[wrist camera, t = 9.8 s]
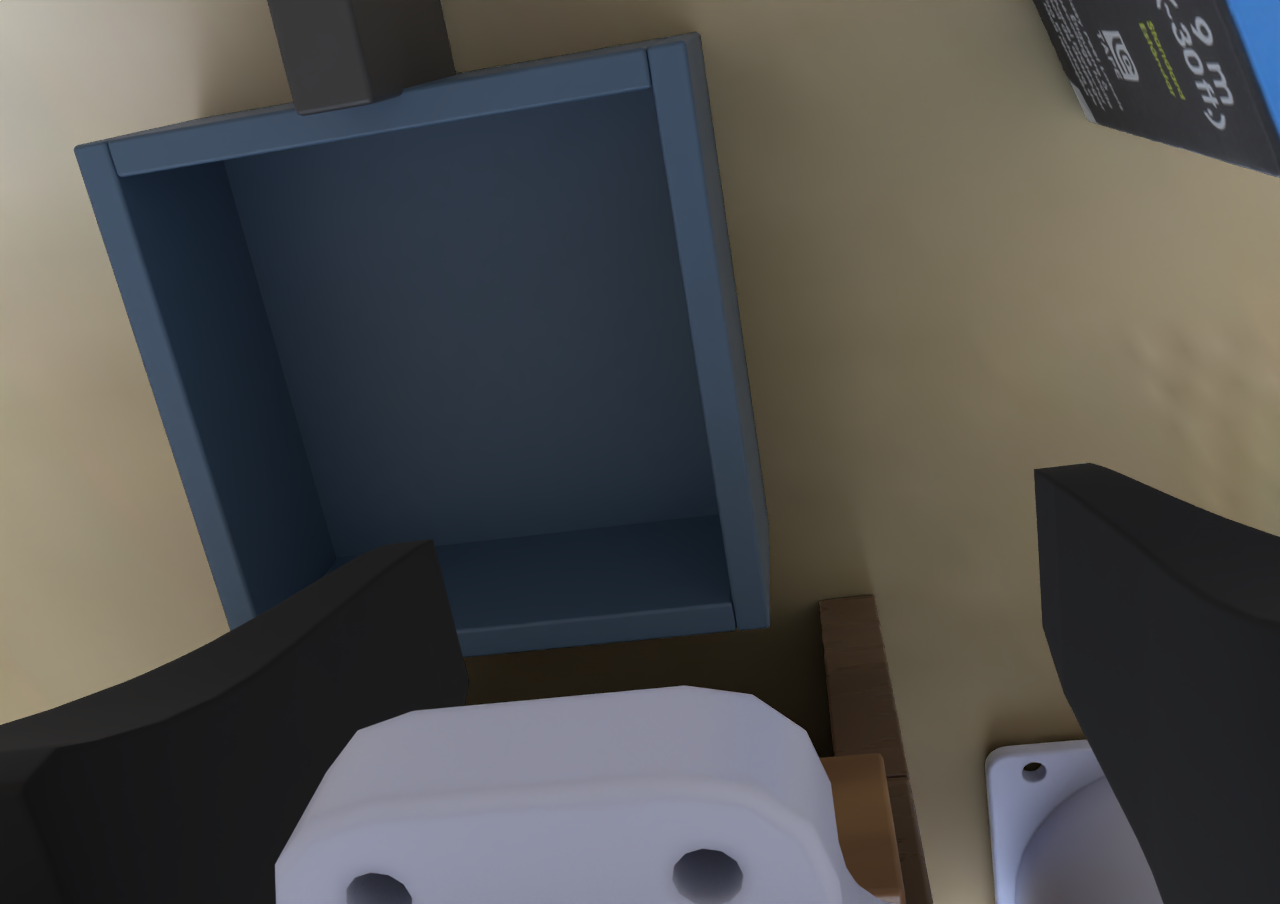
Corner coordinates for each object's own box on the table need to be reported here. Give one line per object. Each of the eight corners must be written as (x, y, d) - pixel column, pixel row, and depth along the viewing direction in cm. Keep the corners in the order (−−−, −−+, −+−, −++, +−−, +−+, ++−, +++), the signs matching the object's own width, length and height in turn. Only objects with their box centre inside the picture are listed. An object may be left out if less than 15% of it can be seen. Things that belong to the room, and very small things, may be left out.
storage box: (648, -341, 19) (602, -475, 14) (769, 523, 25) (771, 674, 19) (98, -218, 21) (-141, -296, 15) (326, 572, 26) (210, 726, 21)
